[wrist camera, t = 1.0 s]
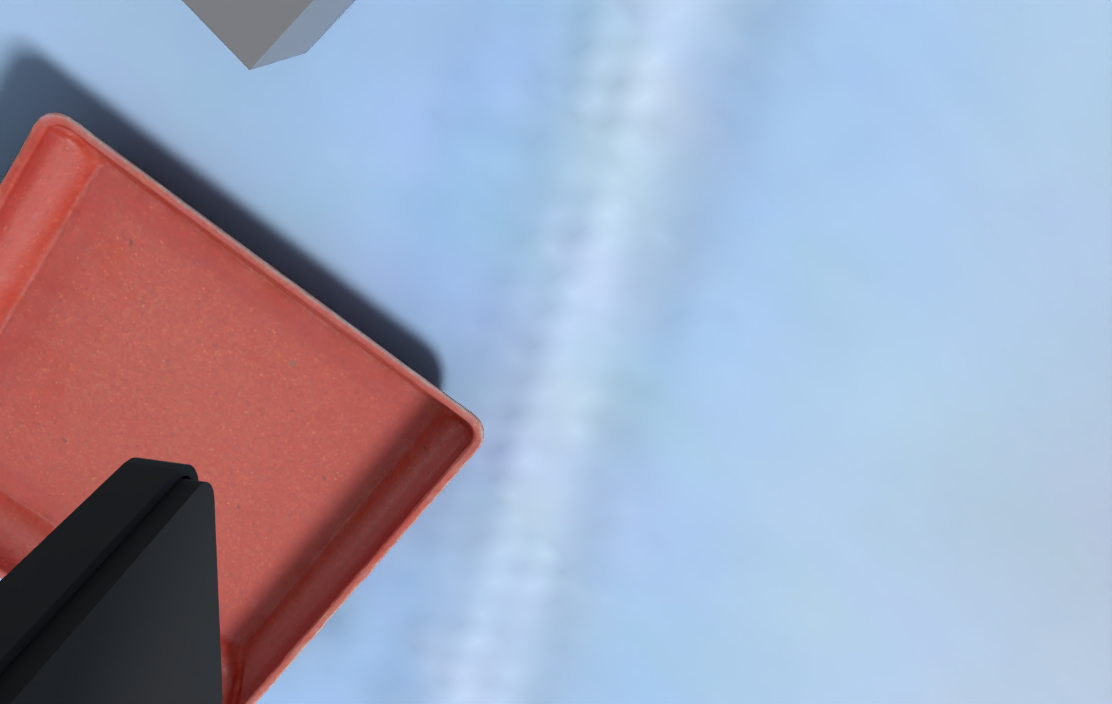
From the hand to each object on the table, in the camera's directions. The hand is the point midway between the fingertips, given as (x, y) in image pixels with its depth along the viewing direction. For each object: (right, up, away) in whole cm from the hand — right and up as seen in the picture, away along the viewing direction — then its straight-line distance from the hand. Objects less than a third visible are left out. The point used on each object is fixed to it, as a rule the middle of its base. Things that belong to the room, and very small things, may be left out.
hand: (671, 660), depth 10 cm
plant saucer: (-15, 0, +31) cm, 34 cm away
